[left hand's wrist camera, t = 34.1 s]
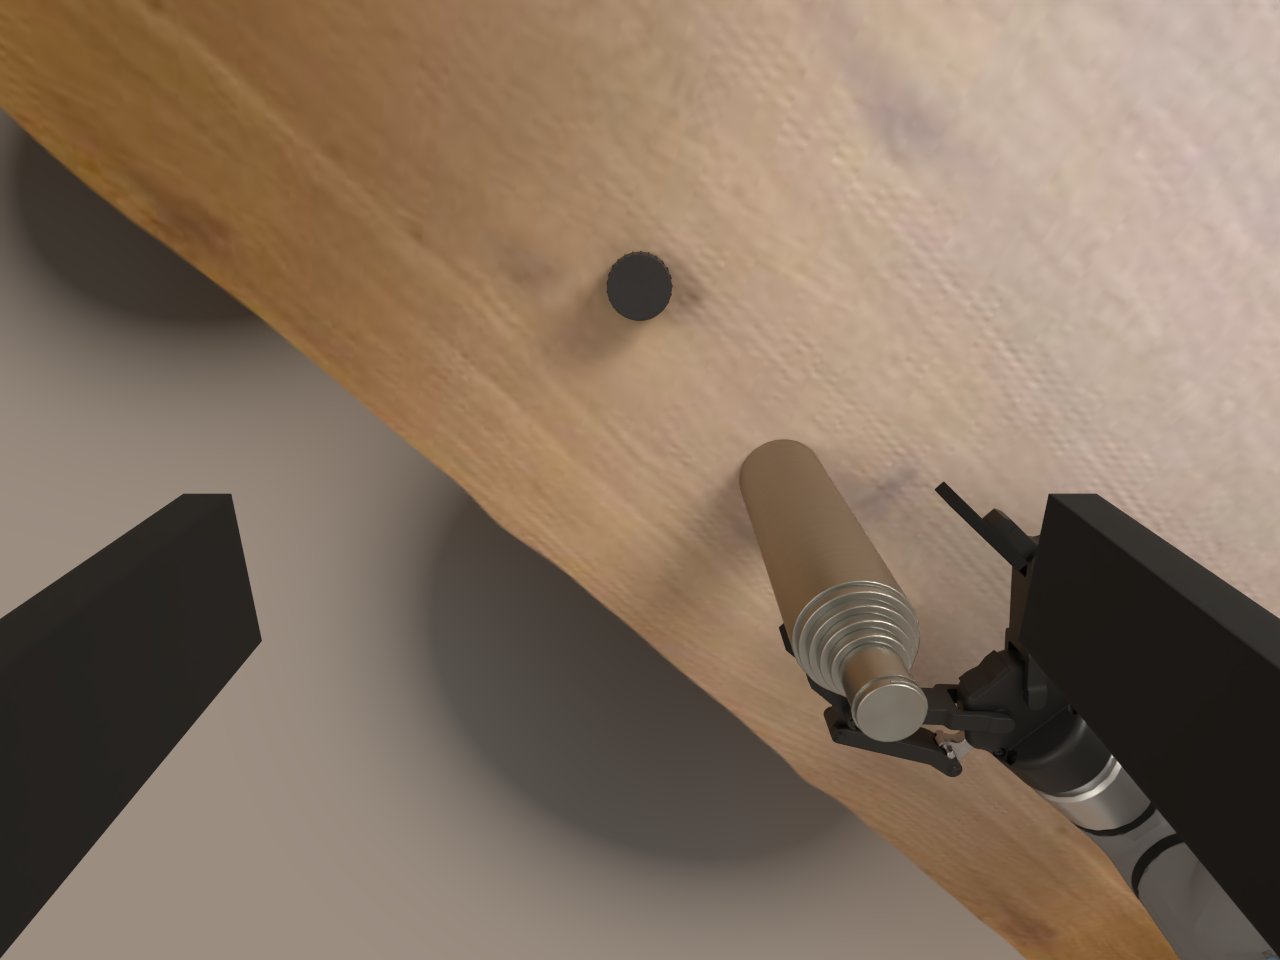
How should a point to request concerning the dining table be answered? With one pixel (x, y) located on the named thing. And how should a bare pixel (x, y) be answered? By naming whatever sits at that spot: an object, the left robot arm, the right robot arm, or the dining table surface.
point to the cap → (639, 286)
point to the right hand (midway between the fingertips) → (863, 566)
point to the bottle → (834, 590)
